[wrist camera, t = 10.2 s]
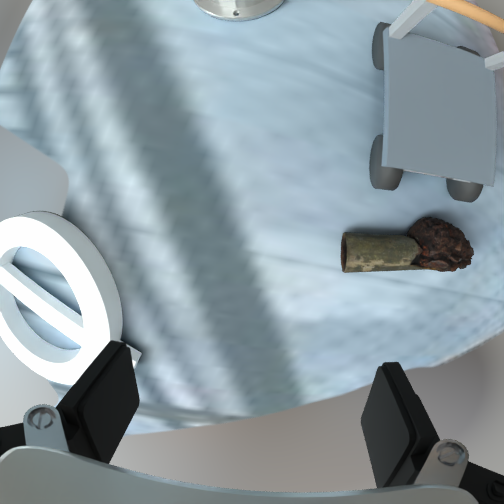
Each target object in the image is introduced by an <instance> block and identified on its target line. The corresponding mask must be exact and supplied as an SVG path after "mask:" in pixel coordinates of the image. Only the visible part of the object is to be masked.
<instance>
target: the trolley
mask: <svg viewBox="0 0 504 504" xmlns="http://www.w3.org/2000/svg"><path fill="white" fill-rule="evenodd" d="M438 6H441V7H444V8H446V9H449V10H452V11H454V12H457V13H459V14H462V15H464V16H467V17H469V18H471V19H473V20H476V21H478V22H480V23H482V24H485V25H487V26H489V27H491V28H493V29H495V30H497V31H499V32H501V33H503V34H504V19H502V18H500V17H498V16H496V15H494V14H492V13H490V12H488V11H486V10H484V9H482V8H480V7H478V6H476V5H473V4H471V3H469V2H467V1H464V0H413V2H412V3H411V4H410V5H409V6H408V7H407V8H406V9H405V10H404V11H403V12H402V13H401V15H400V16H399V17H398V18H397V19H396V20H395V21H394V22H393V23H392V24H388V23H383V22H380V23H379V24H378V25H377V27H376V29H375V32H374V36H373V43H372V58H373V63H374V66H375V68H376V69H380V70H384V130H383V135H378V136H377V137H376V138H375V140H374V142H373V145H372V149H371V154H370V166H369V169H370V180H371V183H372V186H373V187H374V188H375V189H384V190H392V191H393V190H395V189H396V188H397V187H398V185H399V183H400V181H401V178H402V174H403V171H408V172H414V173H420V174H426V175H431V176H437V177H442V178H447V188H448V191H449V194H450V196H451V197H452V198H453V199H454V200H458V201H464V202H473V201H475V200H476V199H477V198H478V197H479V195H480V193H481V191H482V188H483V185H487V186H492V187H494V177H495V163H496V138H497V115H496V90H495V77H494V70H497V69H500V68H503V67H504V51H503V52H500V53H497V54H495V55H492V56H490V57H487V58H485V59H484V58H482V57H481V56H480V55H479V54H478V53H477V52H476V51H473V50H471V49H468V48H466V47H463V46H458V47H454V46H451V45H448V44H445V43H442V42H439V41H436V40H433V39H430V38H426V37H423V36H420V35H416V34H413V33H409V31H410V30H411V29H413V28H414V27H415V26H416V25H417V24H418V23H419V22H420V21H422V20H423V19H424V18H425V17H426V16H427V15H428V14H430V13H431V12H432V11H433V10H434V9H435V8H436V7H438Z"/></svg>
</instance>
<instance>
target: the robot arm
mask: <svg viewBox="0 0 504 504" xmlns="http://www.w3.org/2000/svg"><path fill="white" fill-rule="evenodd" d="M194 2H195V3H196V5H197V6H198V7H199V8H200V9H201V10H202V11H203V12H204V13H206V14H208V15H210V16H212V17H215V18H218V19H221V20H227V21H246V20H252V19H256V18H259V17H262V16H264V15H267V14H269V13H270V12H272V11H274V10H275V9H277V8H278V7H279V6H280V5H281V4H282V3H283V2H284V0H194ZM236 15H238V16H236ZM139 401H140V399H139V393H138V388H137V383H136V378H135V373H134V367H133V362H132V356H131V350H130V348H129V347H127V345H126V343H124V342H119V341H114V340H111V341H109V343H108V344H107V345H106V346H105V347H104V349H103V350H102V351H101V352H100V353H99V354H98V356H97V357H96V358H95V359H94V360H93V362H92V363H91V364H90V365H89V367H88V368H87V369H86V370H85V371H84V373H83V374H82V375H81V376H80V378H79V379H78V380H77V381H76V382H75V384H74V385H73V386H72V387H71V389H70V390H69V391H68V392H67V394H66V395H65V396H64V397H63V399H62V400H61V401H60V402H59V404H58V405H57V406H56V408H55V407H53V406H50V405H45V404H42V405H36V406H34V407H32V408H30V409H29V410H28V411H27V412H26V413H25V415H24V419H23V423H19V424H15V425H10V426H5V427H0V504H504V476H503V475H501V474H498V473H495V472H493V471H490V470H488V469H486V468H483V467H481V466H478V465H476V464H473V463H471V462H469V461H468V459H469V454H468V450H467V449H466V447H465V446H464V445H463V444H462V443H460V442H458V441H456V440H452V439H444V440H440V439H439V437H438V435H437V432H436V430H435V428H434V426H433V424H432V422H431V420H430V418H429V416H428V414H427V412H426V410H425V408H424V406H423V404H422V402H421V400H420V398H419V397H418V395H417V394H415V392H414V390H413V388H412V386H411V384H410V382H409V381H408V378H407V377H406V375H405V373H404V371H403V369H402V367H401V365H400V364H399V362H385V363H383V364H382V366H379V367H378V369H377V372H376V375H375V378H374V381H373V384H372V388H371V391H370V394H369V397H368V400H367V402H366V405H365V408H364V411H363V414H362V417H361V425H362V429H363V433H364V436H365V441H366V445H367V449H368V453H369V457H370V461H371V464H372V469H373V473H374V477H375V482H376V486H377V488H376V489H366V490H353V491H338V492H309V493H308V492H307V493H296V492H295V493H294V492H293V493H292V492H265V491H250V490H238V489H229V488H220V487H212V486H205V485H199V484H192V483H186V482H181V481H175V480H171V479H166V478H161V477H156V476H152V475H148V474H143V473H140V472H136V471H132V470H128V469H124V468H120V467H117V466H114V465H110V464H109V463H110V461H111V458H112V457H113V455H114V453H115V451H116V449H117V447H118V445H119V443H120V441H121V439H122V437H123V435H124V433H125V431H126V429H127V427H128V425H129V423H130V422H131V420H132V418H133V416H134V414H135V412H136V410H137V408H138V406H139Z"/></svg>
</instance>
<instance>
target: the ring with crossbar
mask: <svg viewBox="0 0 504 504" xmlns="http://www.w3.org/2000/svg"><path fill="white" fill-rule="evenodd" d="M21 246H24V247H29V248H32V249H34V250H36V251H38V252H40V253H42V254H43V255H44V256H46V257H47V258H48V259H49V260H50V261H51V262H53V263H54V264H55V266H56V267H57V268H58V269H59V270H60V271H61V273H62V274H63V275H64V277H65V278H66V280H67V281H68V283H69V285H70V286H71V288H72V290H73V292H74V294H75V296H76V298H77V301H78V304H79V306H80V309H81V313H82V316H81V315H79V314H78V313H76V312H75V311H73V310H72V309H70V308H69V307H67V306H66V305H65V304H63V303H62V302H60V301H59V300H58V299H56V298H55V297H53V296H52V295H51V294H49V293H48V292H47V291H45V290H44V289H43V288H41V287H40V286H39V285H37V284H36V283H35V282H34V281H32V280H31V279H30V278H28V277H27V276H26V275H25V274H23V273H22V272H21V271H20V270H18V269H17V268H16V267H15V266H13V265H12V261H13V258H14V256H15V254H16V252H17V250H18V249H19V248H20V247H21ZM13 295H14V296H15V297H17V298H18V299H19V300H20V301H21V302H23V303H24V304H25V305H26V306H28V307H29V308H30V309H31V310H33V311H34V312H35V313H37V314H38V315H39V316H40V317H42V318H43V319H44V320H46V321H47V322H48V323H50V324H51V325H52V326H54V327H55V328H56V329H58V330H59V331H61V332H62V333H63V334H65V335H66V336H68V337H69V338H71V339H72V340H73V341H75V342H76V343H78V344H79V345H81V346H82V348H79V349H75V350H66V349H61V348H58V347H55V346H53V345H51V344H49V343H48V342H46V341H45V340H43V339H42V338H41V337H39V336H38V335H37V334H36V333H35V332H34V331H33V330H32V329H31V327H30V326H29V325H28V324H27V322H26V321H25V319H24V318H23V316H22V315H21V313H20V311H19V309H18V307H17V304H16V302H15V299H14V296H13ZM122 327H123V316H122V307H121V301H120V297H119V293H118V290H117V287H116V284H115V281H114V279H113V276H112V274H111V272H110V270H109V268H108V266H107V264H106V262H105V260H104V259H103V257H102V256H101V254H100V252H99V251H98V250H97V248H96V247H95V246H94V244H93V243H92V242H91V241H90V240H89V238H88V237H87V236H86V235H85V234H84V233H83V232H82V231H81V230H79V229H78V228H77V227H76V226H75V225H73V224H72V223H71V222H69V221H67V220H66V219H64V218H62V217H61V216H60V215H58V214H55V213H52V212H47V211H33V212H28V213H25V214H22V215H18V216H15V217H12V218H9V219H6V220H4V221H2V222H1V223H0V336H1V337H2V339H3V340H4V342H5V343H6V344H7V346H8V347H9V348H10V349H11V351H12V352H13V353H14V354H15V355H16V356H17V357H18V358H19V359H20V360H21V361H22V362H23V363H24V364H26V365H27V366H28V367H29V368H30V369H32V370H33V371H35V372H36V373H38V374H40V375H42V376H43V377H45V378H47V379H49V380H52V381H55V382H58V383H62V384H72V385H73V384H75V382H76V381H77V380H78V379H79V378H80V376H81V375H82V374H83V373H84V371H85V370H86V369H87V368H88V367H89V365H90V364H91V363H92V362H93V360H94V359H95V358H96V357H97V356H98V354H99V353H100V352H101V351H102V350H103V349H104V347H105V346H106V345H107V344H108V343H109V341H111V340H114V341H119V342H122V341H121V340H120V339H121V335H122ZM126 345H127V344H126ZM127 347H129V348H130V350H131V356H132V362H133V367H134V369H135V367H136V365H137V363H138V361H139V358H140V356H141V354H142V353H141V352H139V351H137V350H136V349H134V348H132V347H131V346H129V345H127Z"/></svg>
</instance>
